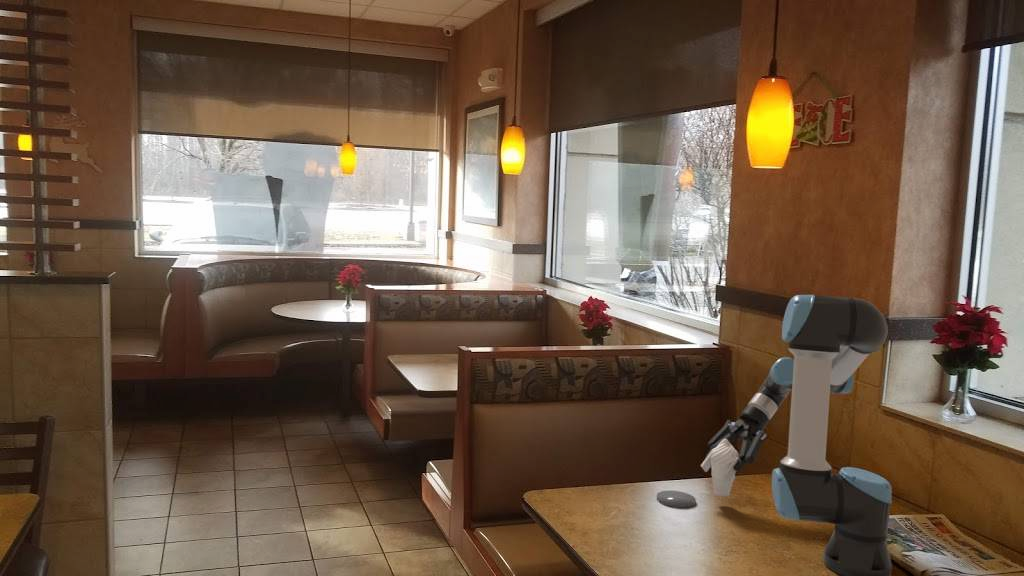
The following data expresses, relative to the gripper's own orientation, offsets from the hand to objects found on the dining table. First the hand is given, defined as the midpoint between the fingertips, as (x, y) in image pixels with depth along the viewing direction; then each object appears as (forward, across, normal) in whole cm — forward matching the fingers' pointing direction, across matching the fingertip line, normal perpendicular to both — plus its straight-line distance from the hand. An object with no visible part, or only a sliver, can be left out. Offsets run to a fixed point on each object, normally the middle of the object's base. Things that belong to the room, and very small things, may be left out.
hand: (714, 473), depth 229 cm
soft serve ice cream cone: (+2, 0, -7) cm, 7 cm away
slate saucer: (+11, +8, -2) cm, 14 cm away
